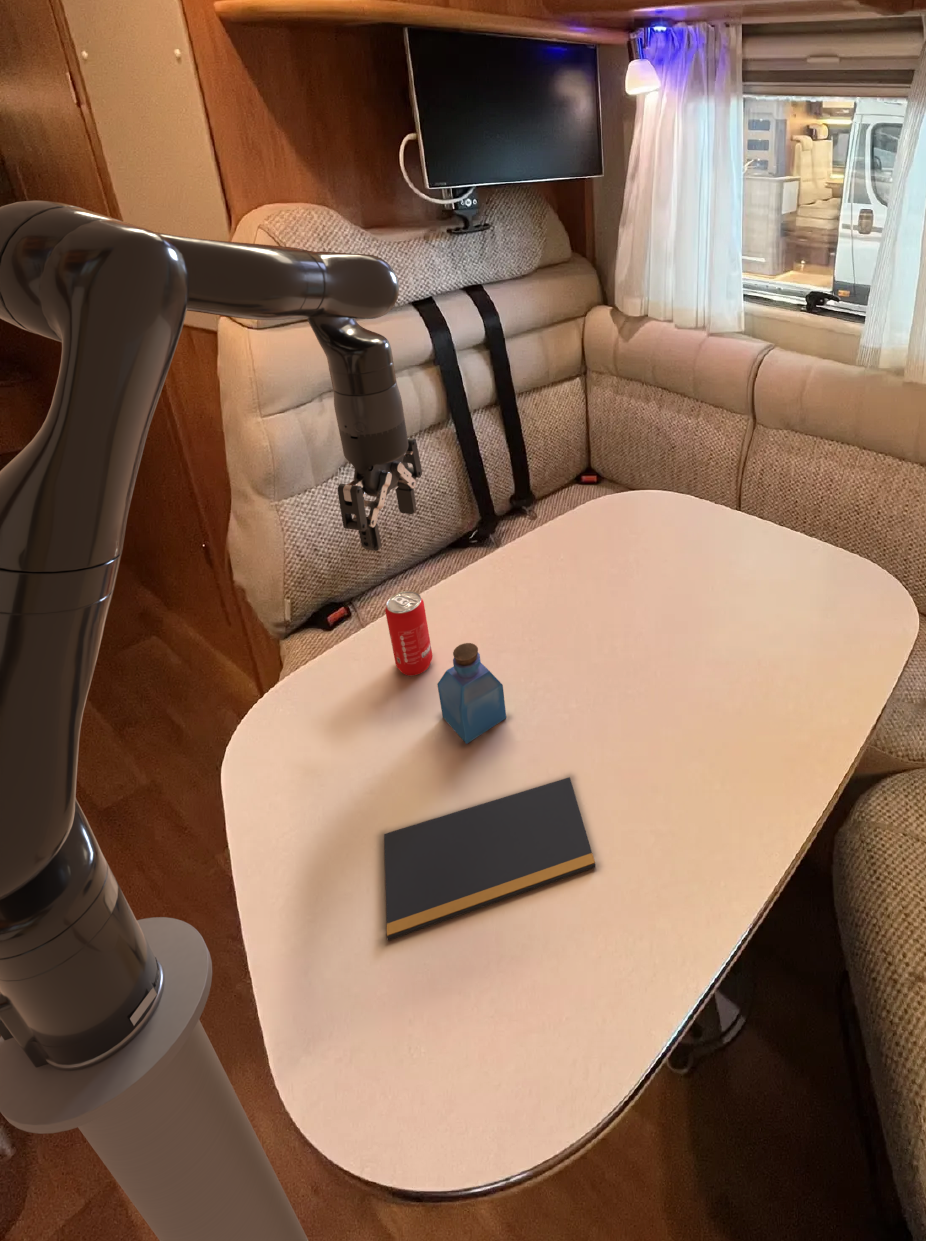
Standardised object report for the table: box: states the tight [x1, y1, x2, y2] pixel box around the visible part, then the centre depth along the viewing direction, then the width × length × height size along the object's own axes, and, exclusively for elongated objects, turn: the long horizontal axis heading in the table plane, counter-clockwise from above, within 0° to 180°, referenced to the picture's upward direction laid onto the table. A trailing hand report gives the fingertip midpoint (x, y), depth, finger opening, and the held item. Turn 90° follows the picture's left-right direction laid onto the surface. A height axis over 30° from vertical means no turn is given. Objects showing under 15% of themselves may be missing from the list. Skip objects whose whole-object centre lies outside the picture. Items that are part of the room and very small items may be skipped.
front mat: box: [383, 776, 596, 941], centre depth 83 cm, size 22×12×1 cm, turn 111°
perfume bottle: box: [436, 642, 507, 745], centre depth 97 cm, size 6×6×12 cm
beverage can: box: [384, 590, 433, 677], centre depth 106 cm, size 5×5×12 cm
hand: (391, 529), depth 95 cm, fingers open, 8 cm apart
